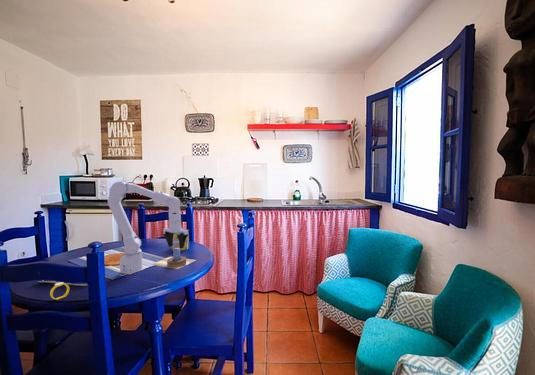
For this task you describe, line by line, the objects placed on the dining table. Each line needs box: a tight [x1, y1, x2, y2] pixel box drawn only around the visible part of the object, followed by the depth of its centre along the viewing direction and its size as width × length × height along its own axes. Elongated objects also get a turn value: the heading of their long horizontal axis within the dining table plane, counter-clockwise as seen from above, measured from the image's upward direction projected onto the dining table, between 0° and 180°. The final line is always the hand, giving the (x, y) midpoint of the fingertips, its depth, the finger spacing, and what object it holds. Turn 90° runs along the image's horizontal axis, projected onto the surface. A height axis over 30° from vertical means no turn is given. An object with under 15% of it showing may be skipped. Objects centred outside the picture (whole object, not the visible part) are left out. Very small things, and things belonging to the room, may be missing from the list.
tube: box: [37, 280, 88, 287], centre depth 118 cm, size 5×5×25 cm
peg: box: [172, 248, 181, 261], centre depth 138 cm, size 3×3×8 cm
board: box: [150, 255, 197, 270], centre depth 141 cm, size 14×18×1 cm
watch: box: [49, 282, 70, 301], centre depth 104 cm, size 6×3×6 cm, turn 152°
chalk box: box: [171, 224, 190, 252], centre depth 166 cm, size 9×9×15 cm
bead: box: [167, 255, 187, 267], centre depth 138 cm, size 9×9×2 cm
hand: (176, 247), depth 137 cm, fingers open, 7 cm apart
